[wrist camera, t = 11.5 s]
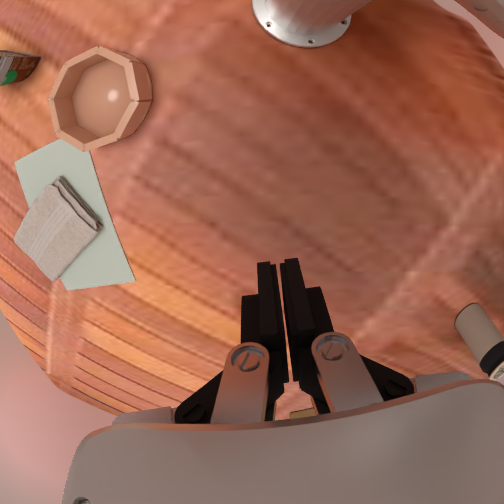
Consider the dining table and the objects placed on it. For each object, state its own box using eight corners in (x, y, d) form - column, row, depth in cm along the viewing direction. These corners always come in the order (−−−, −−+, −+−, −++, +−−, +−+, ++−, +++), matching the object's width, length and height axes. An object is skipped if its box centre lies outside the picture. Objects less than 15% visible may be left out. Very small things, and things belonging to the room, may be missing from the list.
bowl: (63, 73, 29) (41, 74, 24) (143, 39, 28) (128, 31, 23) (81, 153, 35) (61, 163, 30) (161, 127, 34) (148, 132, 30)
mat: (15, 162, 34) (14, 162, 34) (83, 128, 33) (83, 128, 33) (67, 289, 47) (67, 290, 47) (136, 280, 46) (135, 281, 46)
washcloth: (108, 223, 41) (100, 232, 38) (59, 279, 46) (51, 289, 43) (60, 169, 36) (49, 175, 33) (18, 235, 41) (9, 243, 38)
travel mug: (449, 328, 55) (482, 385, 40) (464, 302, 51) (504, 359, 36) (468, 327, 56) (501, 379, 40) (484, 302, 52) (522, 354, 36)
